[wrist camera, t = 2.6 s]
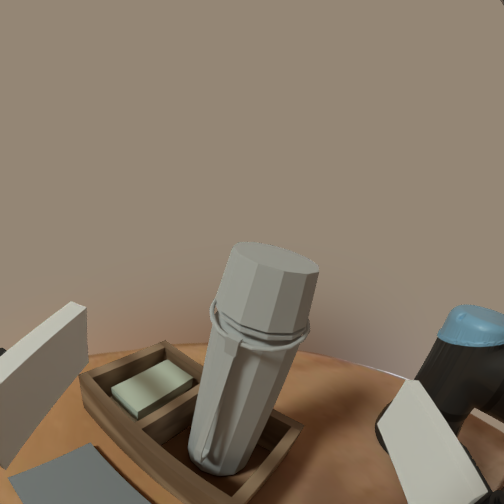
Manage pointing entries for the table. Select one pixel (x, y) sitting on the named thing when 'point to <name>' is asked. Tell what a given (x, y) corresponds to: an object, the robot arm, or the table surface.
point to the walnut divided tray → (174, 427)
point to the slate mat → (75, 481)
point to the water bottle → (249, 351)
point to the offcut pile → (150, 390)
